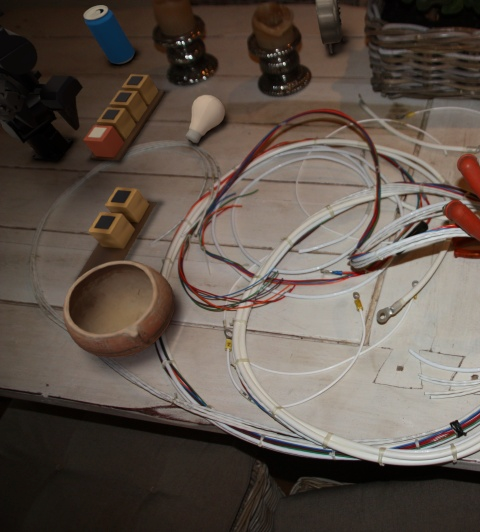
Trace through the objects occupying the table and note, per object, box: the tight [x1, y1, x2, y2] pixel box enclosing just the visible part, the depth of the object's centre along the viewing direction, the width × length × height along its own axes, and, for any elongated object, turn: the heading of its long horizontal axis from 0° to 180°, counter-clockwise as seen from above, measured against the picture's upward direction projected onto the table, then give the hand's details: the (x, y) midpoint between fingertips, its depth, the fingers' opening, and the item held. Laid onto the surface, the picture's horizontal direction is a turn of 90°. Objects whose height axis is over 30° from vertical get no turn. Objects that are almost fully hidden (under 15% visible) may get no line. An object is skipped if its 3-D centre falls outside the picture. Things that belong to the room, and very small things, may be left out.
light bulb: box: [185, 94, 226, 144], centre depth 113 cm, size 7×7×11 cm
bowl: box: [62, 259, 175, 358], centre depth 85 cm, size 16×16×10 cm
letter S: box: [82, 124, 124, 157], centre depth 112 cm, size 4×4×5 cm
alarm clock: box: [314, 0, 346, 55], centre depth 121 cm, size 11×5×16 cm, turn 6°
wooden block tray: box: [77, 186, 158, 278], centre depth 98 cm, size 7×18×5 cm, turn 168°
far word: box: [89, 73, 166, 163], centre depth 117 cm, size 7×22×5 cm, turn 168°
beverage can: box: [83, 4, 136, 65], centre depth 129 cm, size 6×6×12 cm
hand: (56, 127), depth 101 cm, fingers open, 9 cm apart
